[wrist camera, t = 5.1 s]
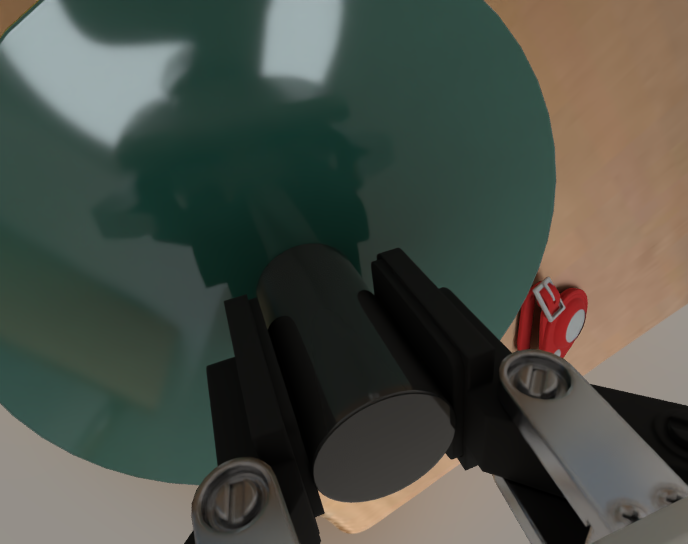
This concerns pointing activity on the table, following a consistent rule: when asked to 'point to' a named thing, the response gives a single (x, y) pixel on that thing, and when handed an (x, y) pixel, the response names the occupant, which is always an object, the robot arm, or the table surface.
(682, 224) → the table surface
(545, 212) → the lid
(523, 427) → the robot arm
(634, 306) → the table surface
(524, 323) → the tracker holder
